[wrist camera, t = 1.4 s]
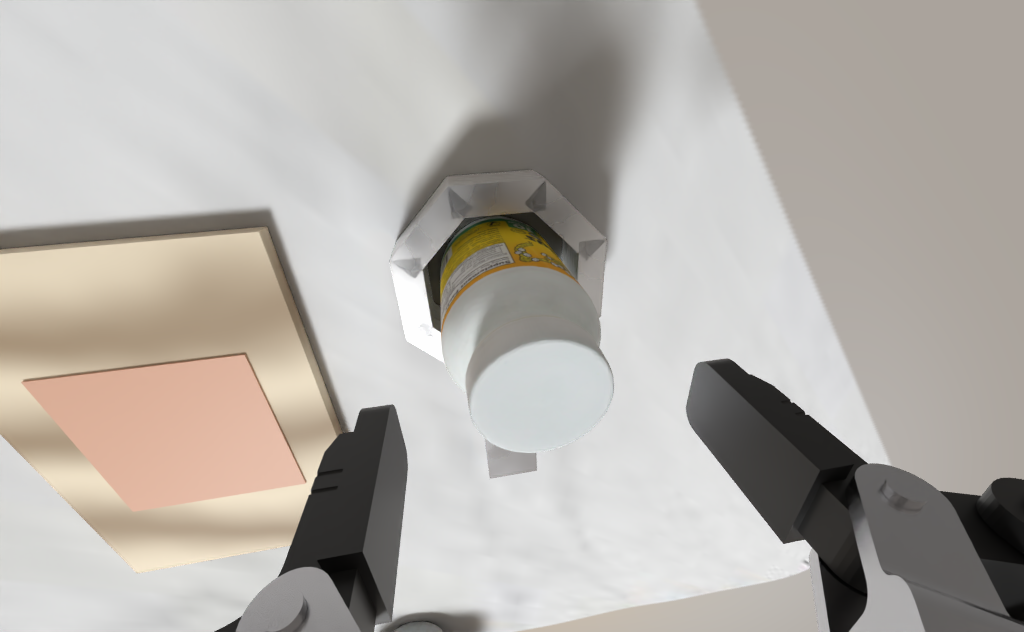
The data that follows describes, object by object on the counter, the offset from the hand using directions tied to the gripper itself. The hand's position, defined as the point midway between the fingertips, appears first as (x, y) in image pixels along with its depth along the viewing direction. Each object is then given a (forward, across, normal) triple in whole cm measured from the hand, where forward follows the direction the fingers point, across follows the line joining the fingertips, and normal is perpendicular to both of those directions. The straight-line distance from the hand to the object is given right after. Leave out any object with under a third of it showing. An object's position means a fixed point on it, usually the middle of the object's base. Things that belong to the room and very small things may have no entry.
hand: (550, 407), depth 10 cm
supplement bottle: (+10, 0, 0) cm, 10 cm away
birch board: (+10, +17, +7) cm, 20 cm away
